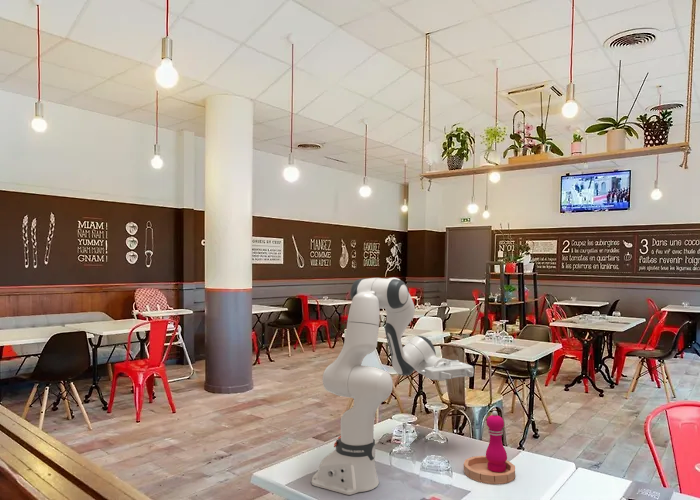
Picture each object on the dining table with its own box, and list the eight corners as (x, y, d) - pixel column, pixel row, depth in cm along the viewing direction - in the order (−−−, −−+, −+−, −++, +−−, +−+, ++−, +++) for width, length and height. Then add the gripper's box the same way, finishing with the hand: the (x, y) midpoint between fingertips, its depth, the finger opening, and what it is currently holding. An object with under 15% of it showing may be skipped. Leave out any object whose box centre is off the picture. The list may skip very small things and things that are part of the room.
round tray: (461, 480, 165) (461, 471, 165) (467, 461, 181) (467, 453, 181) (514, 487, 159) (514, 478, 159) (515, 467, 175) (515, 459, 175)
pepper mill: (510, 472, 168) (508, 413, 169) (489, 472, 168) (487, 413, 170) (504, 465, 175) (502, 408, 177) (483, 465, 175) (482, 408, 177)
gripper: (418, 363, 193) (438, 369, 180) (460, 359, 201) (482, 365, 189) (418, 379, 192) (438, 386, 180) (460, 374, 201) (482, 381, 188)
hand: (461, 375), depth 184 cm, fingers open, 8 cm apart
